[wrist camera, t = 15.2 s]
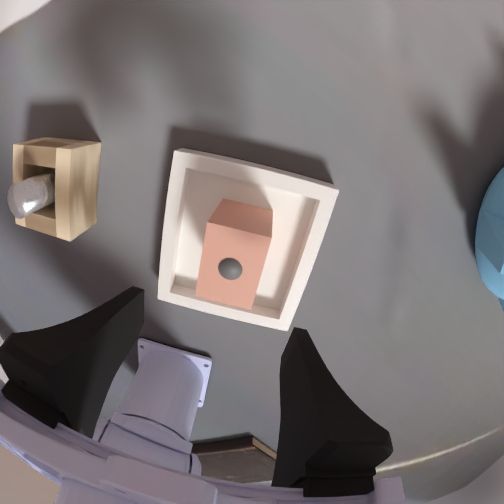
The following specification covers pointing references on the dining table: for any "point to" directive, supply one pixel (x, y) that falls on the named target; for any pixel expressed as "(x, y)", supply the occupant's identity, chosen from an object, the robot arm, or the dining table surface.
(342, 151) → the dining table surface
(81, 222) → the bored block
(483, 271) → the teapot
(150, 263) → the dining table surface
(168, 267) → the tray
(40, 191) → the cylinder
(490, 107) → the dining table surface
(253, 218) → the block
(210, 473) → the hardcover book
